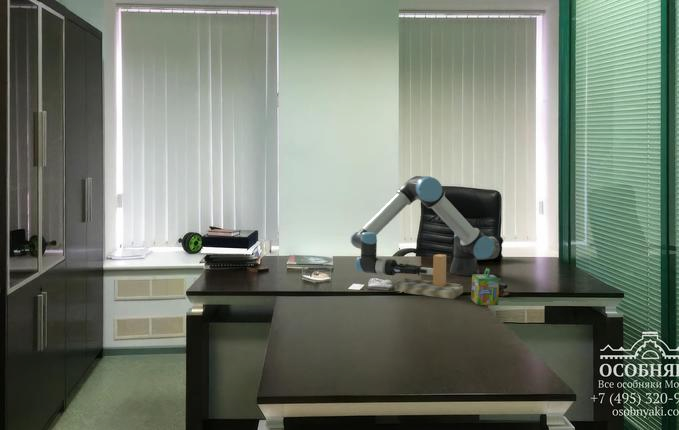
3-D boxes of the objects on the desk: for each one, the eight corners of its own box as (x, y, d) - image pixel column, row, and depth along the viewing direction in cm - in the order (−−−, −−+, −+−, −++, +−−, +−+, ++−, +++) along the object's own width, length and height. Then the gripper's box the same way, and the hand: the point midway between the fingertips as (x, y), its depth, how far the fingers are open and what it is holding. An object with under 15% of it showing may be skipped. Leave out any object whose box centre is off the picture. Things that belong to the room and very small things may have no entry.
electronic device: (504, 297, 255) (504, 281, 255) (484, 294, 262) (485, 277, 262) (509, 296, 258) (509, 279, 258) (490, 292, 265) (490, 276, 265)
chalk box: (470, 300, 250) (471, 266, 249) (491, 300, 251) (492, 266, 250) (477, 305, 241) (478, 270, 240) (498, 305, 242) (500, 270, 240)
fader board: (394, 291, 266) (394, 282, 266) (405, 286, 278) (405, 277, 277) (453, 299, 253) (453, 289, 252) (462, 293, 264) (462, 283, 264)
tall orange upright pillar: (432, 286, 261) (433, 256, 259) (437, 284, 266) (438, 254, 265) (441, 287, 259) (441, 256, 257) (445, 285, 264) (446, 254, 263)
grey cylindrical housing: (449, 261, 347) (450, 236, 345) (487, 257, 359) (488, 233, 357) (465, 265, 333) (465, 239, 332) (504, 261, 345) (504, 236, 344)
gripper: (392, 272, 280) (439, 277, 268) (380, 277, 269) (428, 282, 257) (392, 257, 279) (439, 261, 267) (381, 261, 268) (429, 266, 256)
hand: (434, 271), depth 262 cm, fingers closed
